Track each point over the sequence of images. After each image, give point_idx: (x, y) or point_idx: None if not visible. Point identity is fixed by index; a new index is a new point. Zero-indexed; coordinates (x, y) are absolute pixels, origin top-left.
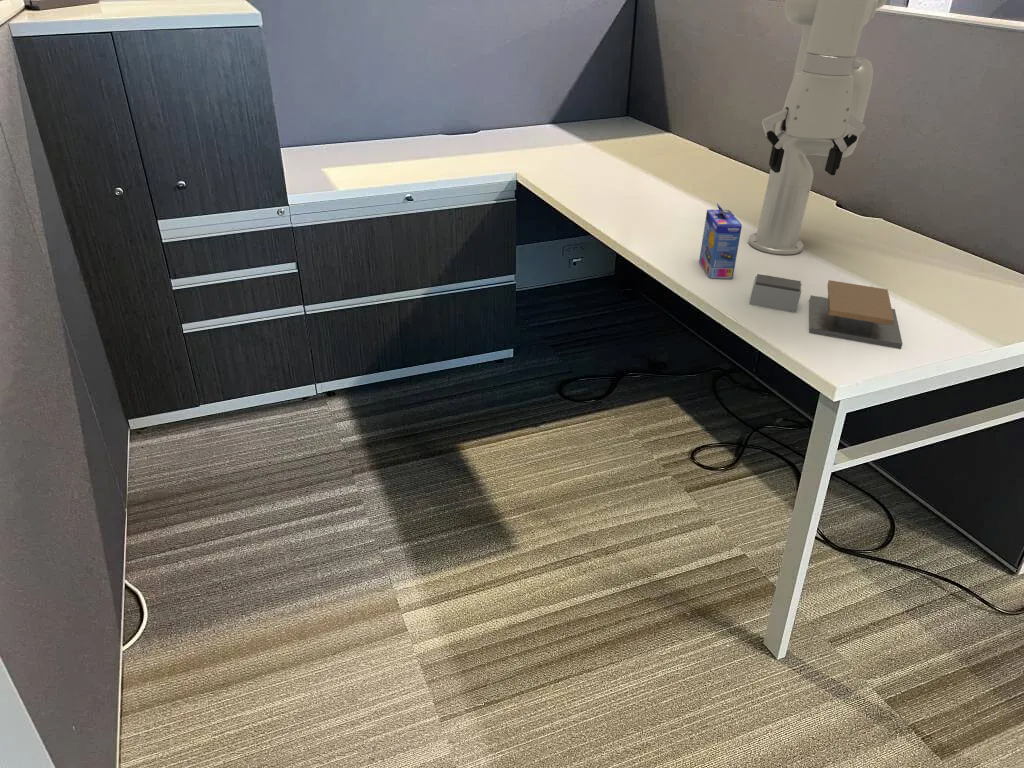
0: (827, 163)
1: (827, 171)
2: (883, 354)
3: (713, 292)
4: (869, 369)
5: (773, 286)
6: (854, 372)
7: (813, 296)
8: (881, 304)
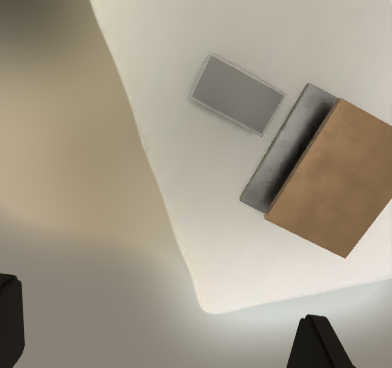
0: (311, 363)
1: (293, 350)
2: (307, 259)
3: (144, 42)
4: (264, 289)
5: (220, 112)
6: (241, 293)
7: (312, 89)
8: (368, 206)
